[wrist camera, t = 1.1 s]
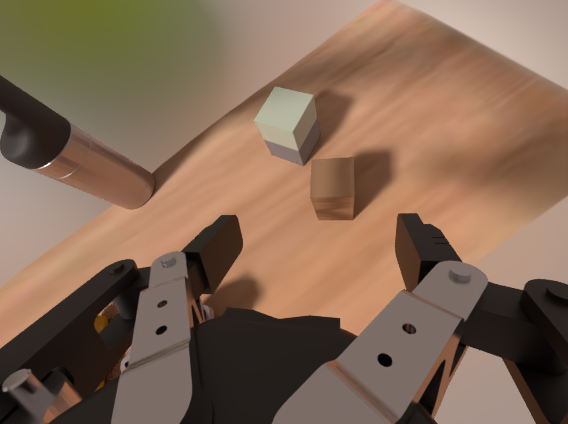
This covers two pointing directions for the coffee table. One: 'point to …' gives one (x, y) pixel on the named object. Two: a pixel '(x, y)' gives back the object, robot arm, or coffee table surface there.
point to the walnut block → (333, 188)
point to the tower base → (294, 155)
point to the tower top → (287, 117)
